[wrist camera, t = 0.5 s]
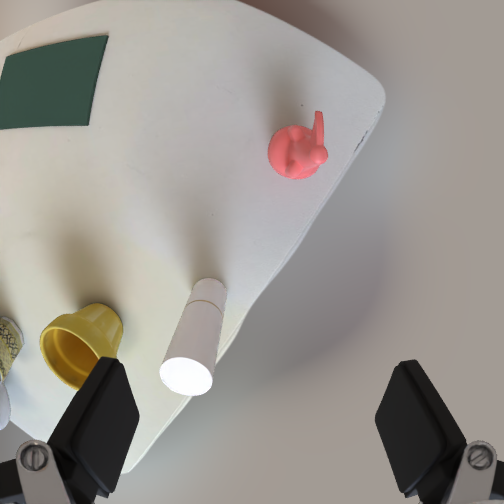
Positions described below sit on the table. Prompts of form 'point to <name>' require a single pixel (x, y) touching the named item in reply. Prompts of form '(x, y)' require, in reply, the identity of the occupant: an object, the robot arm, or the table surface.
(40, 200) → the table surface
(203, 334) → the tube
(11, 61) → the mat
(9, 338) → the ceramic cup
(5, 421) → the table lamp
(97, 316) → the flower pot
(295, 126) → the figurine
